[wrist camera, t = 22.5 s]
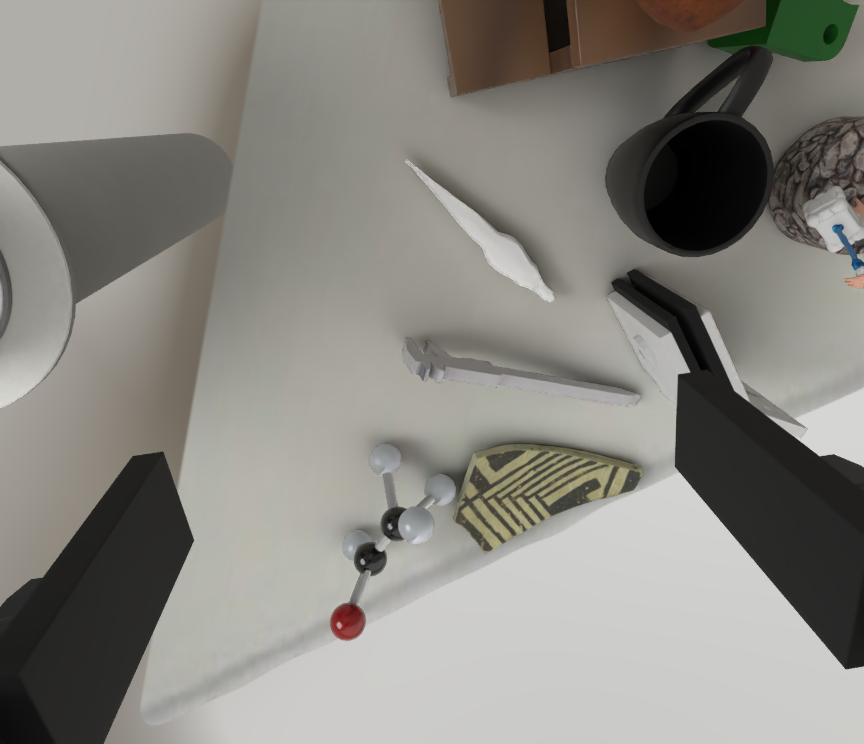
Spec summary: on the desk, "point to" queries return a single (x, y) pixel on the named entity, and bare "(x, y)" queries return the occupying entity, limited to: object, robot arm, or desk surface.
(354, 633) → the molecular model
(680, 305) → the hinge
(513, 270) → the white tapered spike
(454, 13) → the step shelf
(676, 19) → the potato
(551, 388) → the caliper
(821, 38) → the clamp
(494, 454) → the pottery shard
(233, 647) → the desk surface
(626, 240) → the desk surface
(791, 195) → the figurine
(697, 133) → the mug
